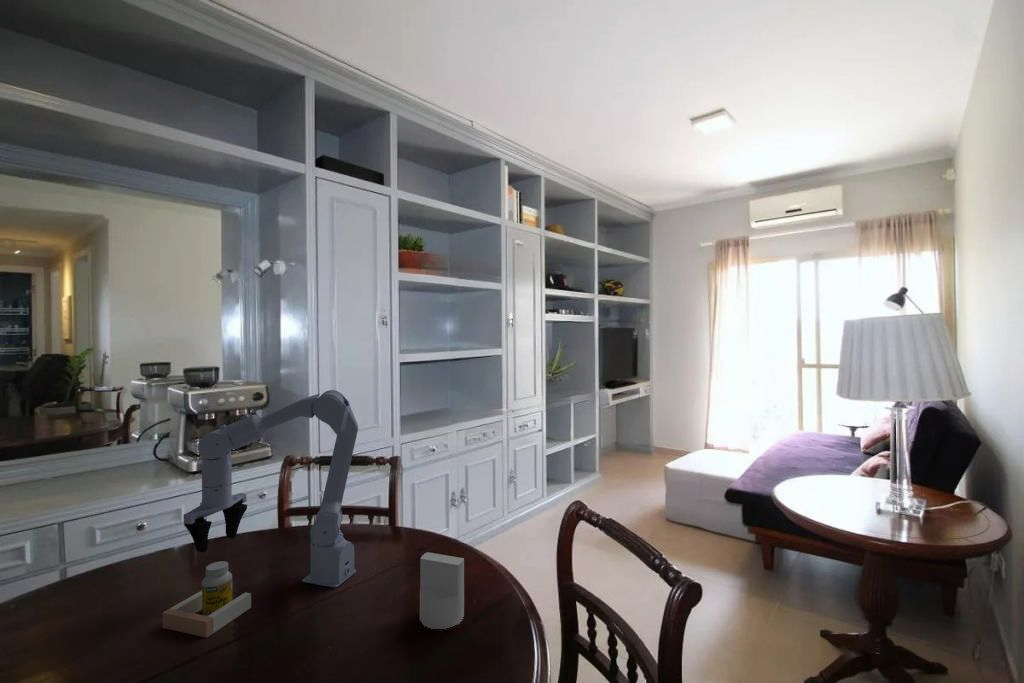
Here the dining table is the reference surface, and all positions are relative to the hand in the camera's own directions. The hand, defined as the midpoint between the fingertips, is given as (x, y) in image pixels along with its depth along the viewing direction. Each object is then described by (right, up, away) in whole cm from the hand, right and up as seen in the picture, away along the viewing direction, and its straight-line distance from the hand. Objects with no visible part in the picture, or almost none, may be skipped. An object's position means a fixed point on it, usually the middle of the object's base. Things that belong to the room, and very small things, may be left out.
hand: (216, 544), depth 107 cm
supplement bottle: (+5, -11, -8) cm, 14 cm away
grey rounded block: (+52, -11, -10) cm, 54 cm away
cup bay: (+5, -11, -10) cm, 15 cm away
